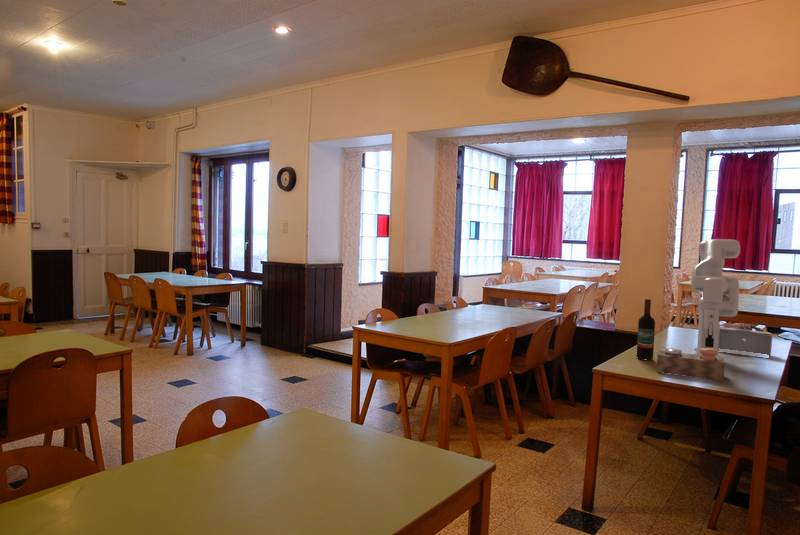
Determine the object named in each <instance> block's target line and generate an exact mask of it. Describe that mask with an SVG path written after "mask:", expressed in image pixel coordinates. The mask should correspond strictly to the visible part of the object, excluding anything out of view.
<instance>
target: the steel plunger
mask: <svg viewBox="0 0 800 535" xmlns="http://www.w3.org/2000/svg"><path fill="white" fill-rule="evenodd" d="M664 351H665V353H667V355H671V356H680V355H681V354H682V353H683V352H682V350H681V349H678V348H674V347H673V348H670V347H669V348H667V347H666V348H665V349H664Z"/></svg>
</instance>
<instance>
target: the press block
mask: <svg viewBox="0 0 800 535" xmlns="http://www.w3.org/2000/svg"><path fill="white" fill-rule="evenodd" d="M721 357H722V356H720V357H715V361H713V360H705V359H702V355H695V353H693V354H692V353H685V352H684V353H683V352H682V354H681V355H680V356H671V355H667V353H665V350H660V349H659V351H658V353H657V360H656V361H657V363H656V364H657V367H656V373H659V372H664V373H663V374H666V373H671V374H670V375H674V374H678V375H677V376H681V375H685V376H684V377H689V376H691V377H690V378H696V377H698V379H703V378H705V380H713V381H718V380H719V382H720V381H721V382H724V378H725V365H726V362H725V358H724V357H722V358H721Z"/></svg>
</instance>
